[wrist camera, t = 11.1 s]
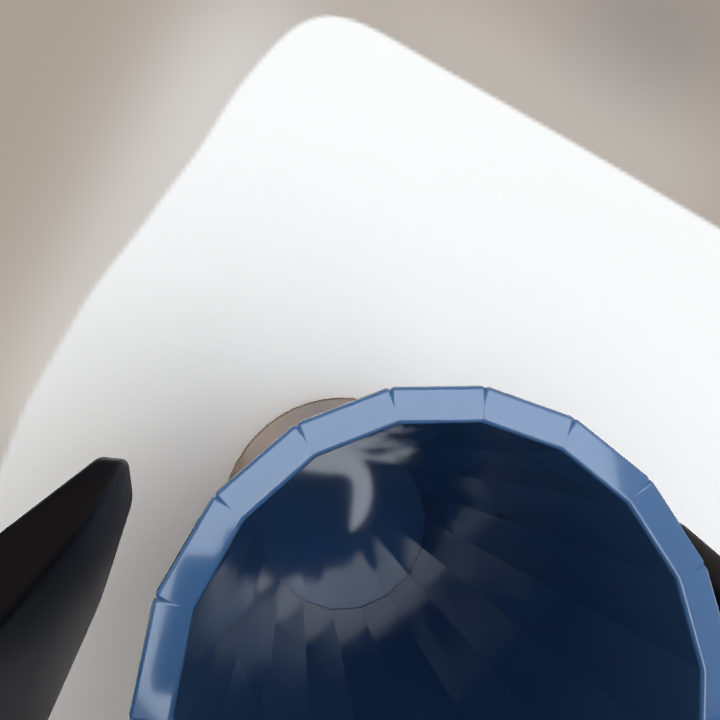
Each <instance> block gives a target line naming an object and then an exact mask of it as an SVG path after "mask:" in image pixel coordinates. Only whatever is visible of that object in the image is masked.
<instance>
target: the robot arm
mask: <svg viewBox="0 0 720 720" xmlns="http://www.w3.org/2000/svg"><path fill="white" fill-rule="evenodd" d="M131 502H132V486H131V478H130V471H129V465H128V462H127V461H126V460H124V459H118V458H109V457H101V458H98V459H96V460H95V461H93V462H92V463H91V464H89V465H88V466H87V467H86V468H84V469H83V470H82V471H80V472H79V473H78V474H76V475H75V476H74V477H72V478H71V479H70V480H69V481H67V482H66V483H65V484H63V485H62V486H61V487H59V488H58V489H57V490H56V491H54V492H53V493H52V494H50V495H49V496H48V497H46V498H45V499H44V500H43V501H41V502H40V503H39V504H37V505H36V506H35V507H33V508H32V509H31V510H30V511H28V512H27V513H26V514H24V515H23V516H22V517H20V518H19V519H18V520H17V521H15V522H14V523H13V524H11V525H10V526H9V527H7V528H6V529H5V530H4V531H2V532H1V533H0V720H48V718H49V716H50V714H51V711H52V709H53V707H54V705H55V702H56V700H57V698H58V696H59V693H60V691H61V689H62V687H63V684H64V682H65V680H66V678H67V675H68V673H69V671H70V669H71V666H72V664H73V662H74V660H75V657H76V655H77V653H78V651H79V648H80V646H81V644H82V642H83V639H84V637H85V635H86V633H87V630H88V628H89V626H90V624H91V621H92V619H93V617H94V615H95V612H96V610H97V607H98V605H99V602H100V600H101V597H102V594H103V591H104V588H105V585H106V582H107V579H108V576H109V573H110V570H111V567H112V564H113V560H114V557H115V554H116V551H117V548H118V545H119V542H120V538H121V535H122V532H123V529H124V526H125V523H126V520H127V516H128V513H129V510H130V507H131ZM679 524H680V525H681V527H682V528H683V530H684V531H685V533H686V534H687V536H688V538H689V539H690V541H691V542H692V544H693V545H694V547H695V548H696V550H697V551H698V553H699V554H700V556H701V558H702V559H703V561H704V564H703V565H705V566H706V568H707V570H708V574H709V577H710V581H711V584H712V588H713V591H714V595H715V598H716V602H717V605H718V609H719V612H720V556H719V555H718V554H717V553H716V552H715V551H714V550H712V549H711V548H710V547H709V546H708V545H706V544H705V543H704V542H703V541H702V540H701V539H699V538H698V537H697V536H696V535H695V534H694V533H692V532H691V531H690V530H689V529H688V528H687V527H685V526H684V525H682V524H681V523H679Z"/></svg>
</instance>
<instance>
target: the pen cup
mask: <svg viewBox="0 0 720 720" xmlns="http://www.w3.org/2000/svg"><path fill="white" fill-rule="evenodd" d="M648 479H649V478H648V477H647V476H646V475H645V474H644V473H642V472H641V471H640V470H639V469H638V468H636V467H635V466H634V465H633V464H631V463H630V462H629V461H628V460H626V459H625V458H624V457H623V456H621V455H620V454H619V453H618V452H616V451H615V450H614V449H613V448H612V447H610V446H609V445H608V444H607V443H605V442H604V441H603V440H602V439H600V438H599V437H598V436H597V435H595V434H594V433H593V432H592V431H590V430H589V429H588V428H587V427H586V426H584V425H583V424H582V423H581V422H579V421H578V420H575V419H573V418H572V417H571V416H569V415H566V414H563V413H561V412H558V411H555V410H552V409H549V408H546V407H544V406H541V405H538V404H535V403H532V402H530V401H527V400H524V399H521V398H518V397H515V396H513V395H510V394H507V393H504V392H501V391H499V390H496V389H493V388H490V387H486V388H485V387H483V386H425V387H393V388H391V389H383V390H380V391H378V392H375V393H373V394H370V395H367V396H365V397H362V398H360V399H357V400H354V401H352V402H349V403H347V404H344V405H341V406H339V407H336V408H334V409H331V410H328V411H326V412H323V413H321V414H318V415H315V416H313V417H310V418H308V419H305V420H302V421H300V422H299V423H298V424H297V426H296V425H295V426H292V427H291V428H289V429H288V430H287V431H286V432H285V433H284V434H282V435H281V436H280V437H279V438H278V439H277V440H276V441H274V442H273V443H272V444H271V445H270V446H269V447H267V448H266V449H265V450H264V451H263V452H262V453H260V454H259V455H258V456H257V457H256V458H255V459H254V460H252V461H251V462H250V463H249V464H248V465H247V466H245V467H244V468H243V469H242V470H241V471H240V472H238V473H237V474H236V475H235V476H234V477H233V478H231V479H230V480H229V481H228V482H227V483H226V484H225V485H223V486H222V487H221V488H220V489H219V490H218V491H217V492H216V494H215V496H213V497H212V498H211V499H210V501H209V502H208V504H207V506H206V508H205V509H204V511H203V513H202V514H201V516H200V518H199V519H198V521H197V523H196V525H195V526H194V528H193V530H192V531H191V533H190V535H189V537H188V538H187V540H186V542H185V543H184V545H183V547H182V549H181V550H180V552H179V554H178V555H177V557H176V559H175V561H174V562H173V564H172V566H171V567H170V569H169V571H168V573H167V574H166V576H165V578H164V579H163V581H162V583H161V585H160V586H159V588H158V590H157V592H156V597H155V599H154V600H153V602H152V607H151V611H150V616H149V621H148V626H147V630H146V635H145V640H144V645H143V650H142V654H141V659H140V664H139V669H138V674H137V678H136V683H135V688H134V693H133V698H132V702H131V707H130V712H129V715H130V719H131V720H720V612H719V609H718V605H717V602H716V598H715V595H714V591H713V588H712V584H711V581H710V577H709V574H708V570H707V568H706V566H705V565H703V564H704V561H703V559H702V558H701V556H700V554H699V553H698V551H697V550H696V548H695V547H694V545H693V544H692V542H691V541H690V539H689V538H688V536H687V534H686V533H685V531H684V530H683V528H682V527H681V525H680V524H679V522H678V521H677V519H676V517H675V516H674V514H673V513H672V511H671V510H670V508H669V507H668V505H667V504H666V502H665V500H664V499H663V497H662V496H661V494H660V493H659V491H658V490H657V488H656V487H655V485H654V484H653V482H651V481H650V480H648Z"/></svg>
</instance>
